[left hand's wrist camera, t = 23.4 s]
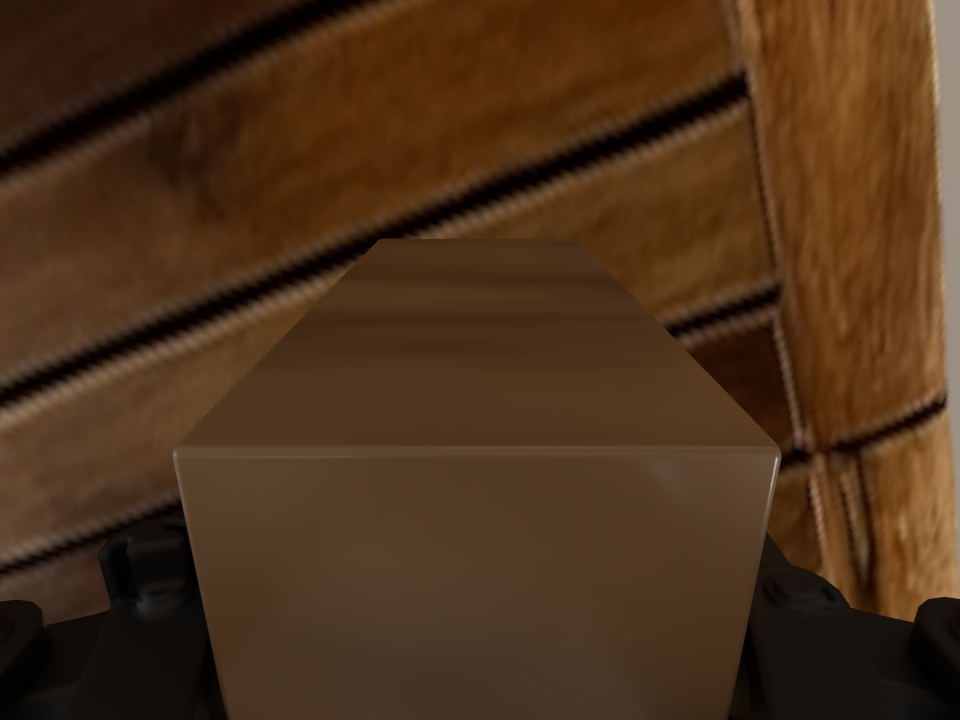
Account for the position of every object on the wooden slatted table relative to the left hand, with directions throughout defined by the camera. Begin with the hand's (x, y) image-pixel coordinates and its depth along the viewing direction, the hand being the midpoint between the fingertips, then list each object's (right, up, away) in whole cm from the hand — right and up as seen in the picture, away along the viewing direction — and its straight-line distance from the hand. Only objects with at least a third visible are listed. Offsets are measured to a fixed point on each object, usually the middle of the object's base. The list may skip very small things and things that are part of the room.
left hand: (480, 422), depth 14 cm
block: (0, +1, +2) cm, 2 cm away
